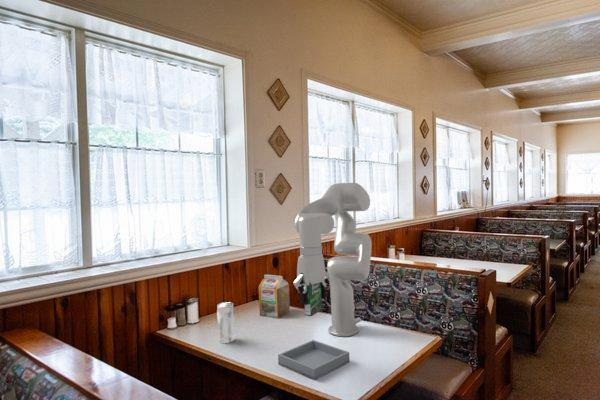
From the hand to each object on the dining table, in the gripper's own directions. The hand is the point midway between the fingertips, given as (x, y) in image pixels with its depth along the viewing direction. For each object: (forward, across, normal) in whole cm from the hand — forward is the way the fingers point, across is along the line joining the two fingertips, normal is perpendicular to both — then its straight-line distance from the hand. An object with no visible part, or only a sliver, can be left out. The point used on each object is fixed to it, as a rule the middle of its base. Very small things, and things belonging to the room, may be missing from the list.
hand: (313, 300), depth 143 cm
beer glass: (+22, +8, -43) cm, 49 cm away
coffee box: (+4, 0, 0) cm, 4 cm away
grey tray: (+22, 0, 0) cm, 22 cm away
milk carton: (+22, -27, -53) cm, 64 cm away
